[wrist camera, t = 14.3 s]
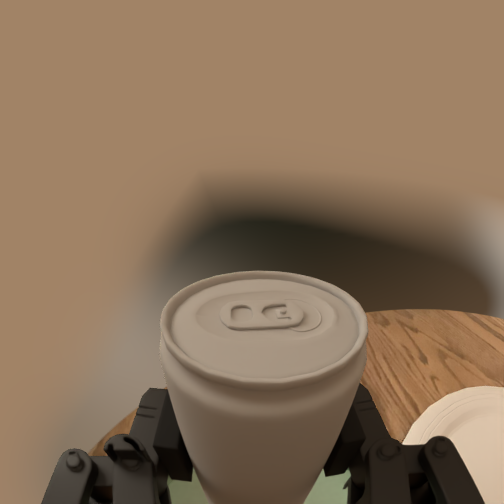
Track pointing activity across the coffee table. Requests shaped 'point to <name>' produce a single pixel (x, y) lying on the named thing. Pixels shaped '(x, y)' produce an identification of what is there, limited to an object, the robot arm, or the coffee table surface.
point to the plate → (470, 434)
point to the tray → (319, 500)
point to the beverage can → (261, 380)
